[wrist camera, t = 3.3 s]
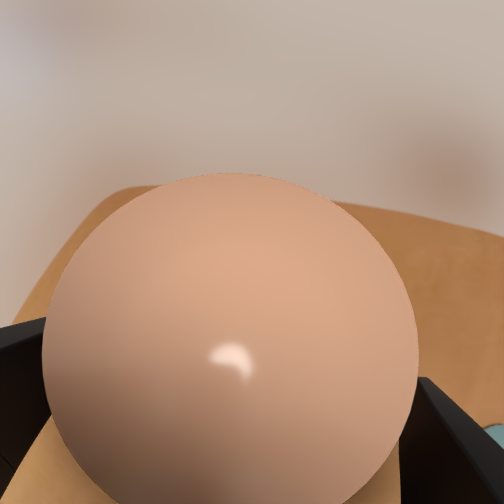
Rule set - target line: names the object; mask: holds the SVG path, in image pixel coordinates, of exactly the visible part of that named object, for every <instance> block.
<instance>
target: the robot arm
mask: <svg viewBox="0 0 504 504" xmlns="http://www.w3.org/2000/svg"><path fill="white" fill-rule="evenodd" d="M45 322H46V317H43V318H39V319H35V320H31V321H27V322H23V323H19V324H15V325H11V326H7V327H3V328H0V499H1V497H2V496H3V494H4V492H5V490H6V488H7V486H8V485H9V483H10V481H11V479H12V478H13V476H14V474H15V472H16V470H17V469H18V467H19V465H20V463H21V462H22V460H23V458H24V457H25V455H26V454H27V452H28V450H29V449H30V447H31V445H32V444H33V442H34V441H35V439H36V437H37V436H38V434H39V433H40V431H41V430H42V428H43V427H44V425H45V424H46V422H47V420H48V419H49V417H50V416H51V414H52V413H51V410H50V406H49V403H48V400H47V395H46V390H45V385H44V379H43V367H42V345H43V332H44V327H45ZM399 465H400V486H401V504H504V449H503V448H502V447H501V446H500V445H499V444H498V443H497V442H496V441H495V440H494V439H493V438H492V437H491V436H490V435H489V434H488V433H487V432H486V431H485V430H484V429H483V428H481V427H480V426H479V425H478V424H477V423H476V422H475V421H474V420H473V419H472V418H471V417H470V416H469V415H468V414H467V413H466V412H464V411H463V410H462V409H461V408H460V407H459V406H458V405H457V404H456V403H455V402H454V401H453V400H452V399H450V398H449V397H448V396H447V395H446V394H445V393H444V392H443V391H442V390H441V389H440V388H438V387H437V386H436V385H435V384H434V383H433V382H432V381H431V380H430V379H429V378H427V377H417V385H416V390H415V394H414V398H413V402H412V406H411V410H410V413H409V416H408V418H407V421H406V423H405V426H404V428H403V430H402V433H401V435H400V437H399Z"/></svg>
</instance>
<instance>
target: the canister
mask: <svg viewBox="0 0 504 504" xmlns="http://www.w3.org/2000/svg"><path fill="white" fill-rule="evenodd" d="M418 364H419V350H418V335H417V328H416V323H415V318H414V314H413V309H412V305H411V303H410V300H409V297H408V294H407V292H406V289H405V286H404V284H403V282H402V280H401V278H400V276H399V274H398V272H397V270H396V268H395V266H394V265H393V263H392V261H391V260H390V258H389V257H388V255H387V254H386V252H385V251H384V250H383V248H382V247H381V246H380V244H379V243H378V242H377V240H376V239H375V238H374V237H373V236H372V235H371V234H370V233H369V232H368V231H367V230H366V229H365V228H364V227H363V225H362V224H360V223H359V222H358V221H357V220H356V219H354V218H353V217H352V216H351V215H350V214H348V213H347V212H346V211H345V210H343V209H342V208H340V207H339V206H337V205H336V204H334V203H333V202H331V201H329V200H328V199H326V198H325V197H323V196H321V195H319V194H317V193H315V192H312V191H310V190H308V189H306V188H304V187H301V186H298V185H295V184H292V183H290V182H287V181H284V180H280V179H275V178H270V177H266V176H261V175H252V174H242V173H219V174H209V175H201V176H195V177H190V178H186V179H182V180H178V181H174V182H171V183H169V184H166V185H163V186H160V187H157V188H155V189H153V190H151V191H149V192H147V193H145V194H143V195H140V196H138V197H136V198H135V199H133V200H132V201H130V202H128V203H127V204H125V205H124V206H122V207H121V208H119V209H118V210H116V211H115V212H114V213H113V214H111V215H110V216H109V217H108V218H106V219H105V220H104V221H103V222H102V223H101V224H100V225H99V226H98V227H97V228H96V229H95V230H94V231H93V232H92V233H91V234H90V235H89V236H88V237H87V238H86V239H85V241H84V242H83V243H82V244H81V246H80V247H79V248H78V249H77V251H76V252H75V253H74V255H73V256H72V258H71V260H70V261H69V263H68V264H67V266H66V268H65V269H64V271H63V273H62V275H61V277H60V279H59V282H58V284H57V286H56V288H55V290H54V293H53V296H52V299H51V302H50V305H49V308H48V312H47V317H46V322H45V327H44V332H43V345H42V367H43V379H44V385H45V390H46V395H47V400H48V403H49V406H50V410H51V413H52V416H53V419H54V421H55V424H56V426H57V428H58V430H59V432H60V435H61V437H62V439H63V441H64V443H65V444H66V446H67V447H68V449H69V451H70V452H71V454H72V455H73V457H74V458H75V460H76V461H77V463H78V464H79V465H80V466H81V468H82V469H83V470H84V471H85V472H86V474H87V475H88V476H89V477H90V478H91V479H92V481H93V482H94V483H95V484H97V485H98V486H99V487H100V488H101V489H102V490H103V491H104V492H105V493H107V494H108V495H109V496H110V497H111V498H112V499H114V500H115V501H116V502H118V503H119V504H342V503H344V502H345V501H347V500H348V499H349V498H350V497H351V496H353V495H354V494H355V493H356V492H357V491H358V490H359V489H360V488H362V487H363V486H364V485H365V484H366V483H367V482H368V481H369V480H370V479H371V477H372V476H373V475H374V474H375V473H376V472H377V470H378V469H379V468H380V467H381V465H382V464H383V463H384V462H385V460H386V459H387V457H388V456H389V454H390V452H391V451H392V449H393V447H394V446H395V444H396V442H397V441H398V439H399V437H400V435H401V433H402V430H403V428H404V426H405V423H406V421H407V418H408V416H409V413H410V410H411V406H412V402H413V398H414V394H415V390H416V385H417V376H418Z"/></svg>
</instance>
